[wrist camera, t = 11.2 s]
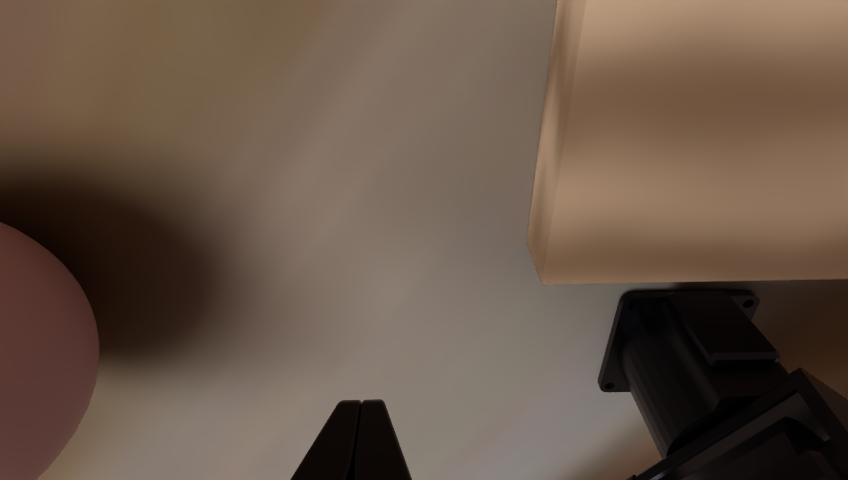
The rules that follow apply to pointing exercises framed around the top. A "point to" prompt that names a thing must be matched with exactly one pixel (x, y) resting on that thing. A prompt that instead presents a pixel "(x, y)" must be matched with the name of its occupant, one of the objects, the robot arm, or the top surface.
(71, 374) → the mortar and pestle
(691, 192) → the thick wooden platform
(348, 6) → the top surface
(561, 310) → the top surface
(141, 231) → the top surface
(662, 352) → the robot arm
